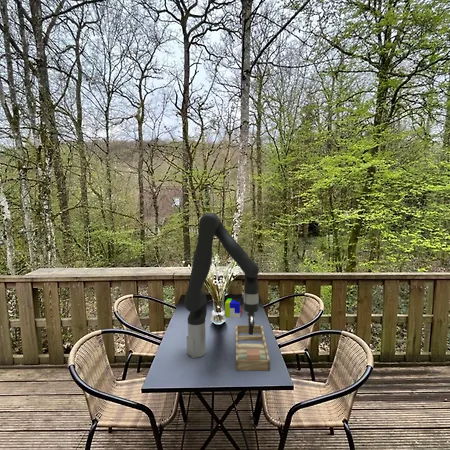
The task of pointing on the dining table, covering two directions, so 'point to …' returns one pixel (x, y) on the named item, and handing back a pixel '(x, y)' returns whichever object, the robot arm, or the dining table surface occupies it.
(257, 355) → the block
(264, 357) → the trap lane
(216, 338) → the dining table surface
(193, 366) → the dining table surface
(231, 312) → the puzzle toy
